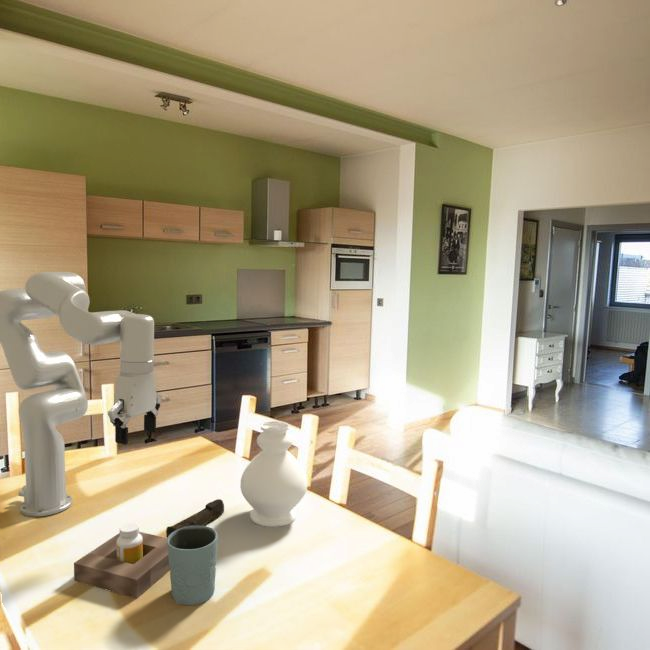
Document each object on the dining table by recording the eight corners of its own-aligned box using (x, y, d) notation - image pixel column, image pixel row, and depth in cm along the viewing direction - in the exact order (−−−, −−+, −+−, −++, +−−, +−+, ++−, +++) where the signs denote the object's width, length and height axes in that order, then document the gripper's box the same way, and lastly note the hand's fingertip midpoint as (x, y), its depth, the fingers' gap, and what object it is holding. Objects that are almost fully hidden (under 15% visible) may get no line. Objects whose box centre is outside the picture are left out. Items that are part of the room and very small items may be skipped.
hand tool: (176, 545, 129) (176, 527, 129) (165, 540, 132) (165, 522, 131) (231, 516, 145) (231, 499, 145) (220, 512, 147) (220, 495, 147)
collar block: (74, 580, 114) (73, 563, 113) (126, 544, 129) (125, 528, 128) (137, 598, 108) (136, 579, 108) (183, 558, 123) (183, 541, 123)
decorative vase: (265, 539, 133) (266, 440, 130) (227, 513, 146) (228, 423, 143) (320, 518, 145) (322, 427, 142) (280, 495, 158) (281, 412, 155)
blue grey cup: (192, 614, 104) (191, 555, 103) (156, 596, 109) (155, 539, 108) (227, 588, 113) (228, 533, 111) (193, 572, 118) (193, 520, 117)
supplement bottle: (148, 565, 120) (147, 524, 119) (132, 578, 115) (131, 535, 114) (128, 560, 122) (127, 519, 121) (111, 573, 117) (110, 530, 116)
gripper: (148, 359, 137) (147, 424, 139) (96, 371, 121) (96, 445, 123) (173, 362, 134) (171, 429, 136) (123, 376, 118) (122, 451, 120)
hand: (136, 437), depth 129 cm, fingers open, 9 cm apart
